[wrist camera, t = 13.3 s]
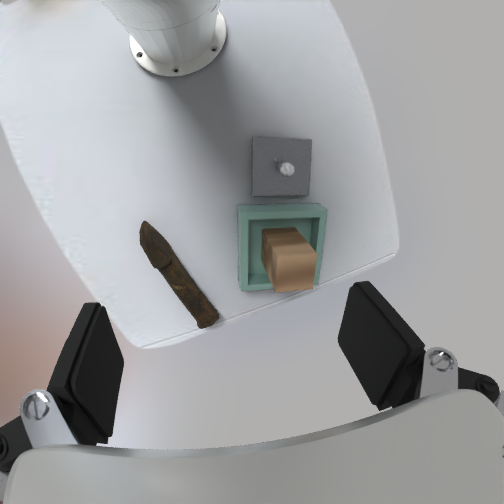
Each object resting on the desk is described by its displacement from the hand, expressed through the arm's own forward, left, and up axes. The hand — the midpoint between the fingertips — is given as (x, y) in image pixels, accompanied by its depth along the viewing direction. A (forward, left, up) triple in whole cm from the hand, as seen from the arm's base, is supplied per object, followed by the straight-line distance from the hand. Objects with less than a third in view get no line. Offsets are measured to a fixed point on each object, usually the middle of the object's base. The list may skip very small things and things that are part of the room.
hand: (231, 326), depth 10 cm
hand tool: (+15, -6, -31) cm, 34 cm away
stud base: (-1, +10, -30) cm, 32 cm away
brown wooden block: (+11, +10, -30) cm, 33 cm away
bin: (+11, +10, -30) cm, 34 cm away
